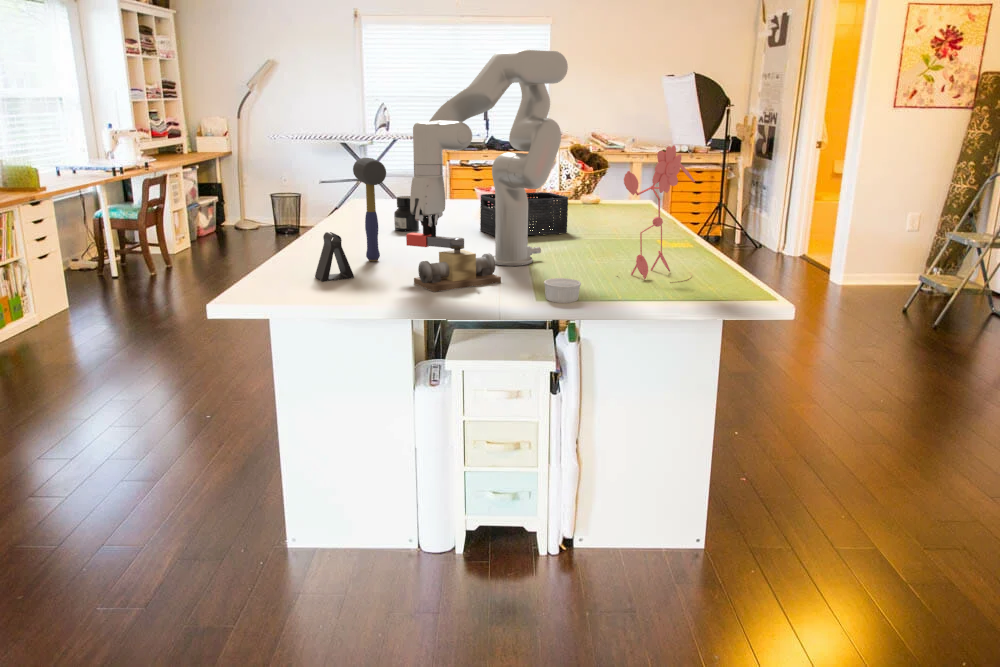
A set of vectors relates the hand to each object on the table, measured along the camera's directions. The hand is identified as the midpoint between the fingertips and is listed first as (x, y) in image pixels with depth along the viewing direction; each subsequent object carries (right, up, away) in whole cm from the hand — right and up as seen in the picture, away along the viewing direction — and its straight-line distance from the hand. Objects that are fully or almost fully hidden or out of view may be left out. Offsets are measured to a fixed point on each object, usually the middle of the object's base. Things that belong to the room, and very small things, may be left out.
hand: (429, 240), depth 207 cm
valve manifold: (+8, -12, -4) cm, 15 cm away
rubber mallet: (-19, -4, +23) cm, 30 cm away
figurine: (+63, -10, +4) cm, 64 cm away
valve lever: (+2, -2, -4) cm, 5 cm away
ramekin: (+34, -17, -20) cm, 43 cm away
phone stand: (-26, -10, +1) cm, 28 cm away
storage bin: (+27, +12, +74) cm, 80 cm away
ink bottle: (-15, +13, +77) cm, 80 cm away
